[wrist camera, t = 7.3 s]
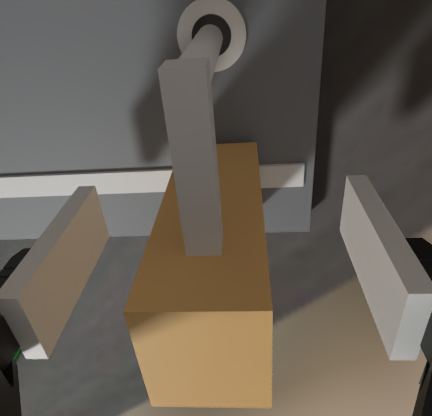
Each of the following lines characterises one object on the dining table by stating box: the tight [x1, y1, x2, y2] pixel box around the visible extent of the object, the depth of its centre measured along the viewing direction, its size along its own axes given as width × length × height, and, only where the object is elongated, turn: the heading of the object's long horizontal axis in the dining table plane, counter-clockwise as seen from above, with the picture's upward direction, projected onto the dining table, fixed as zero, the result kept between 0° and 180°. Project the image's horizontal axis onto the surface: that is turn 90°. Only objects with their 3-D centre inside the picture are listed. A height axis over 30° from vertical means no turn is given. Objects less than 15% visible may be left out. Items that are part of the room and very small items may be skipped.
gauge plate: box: [0, 0, 326, 240], centre depth 17 cm, size 13×21×4 cm, turn 94°
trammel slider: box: [123, 24, 273, 408], centre depth 12 cm, size 9×4×10 cm, turn 4°
